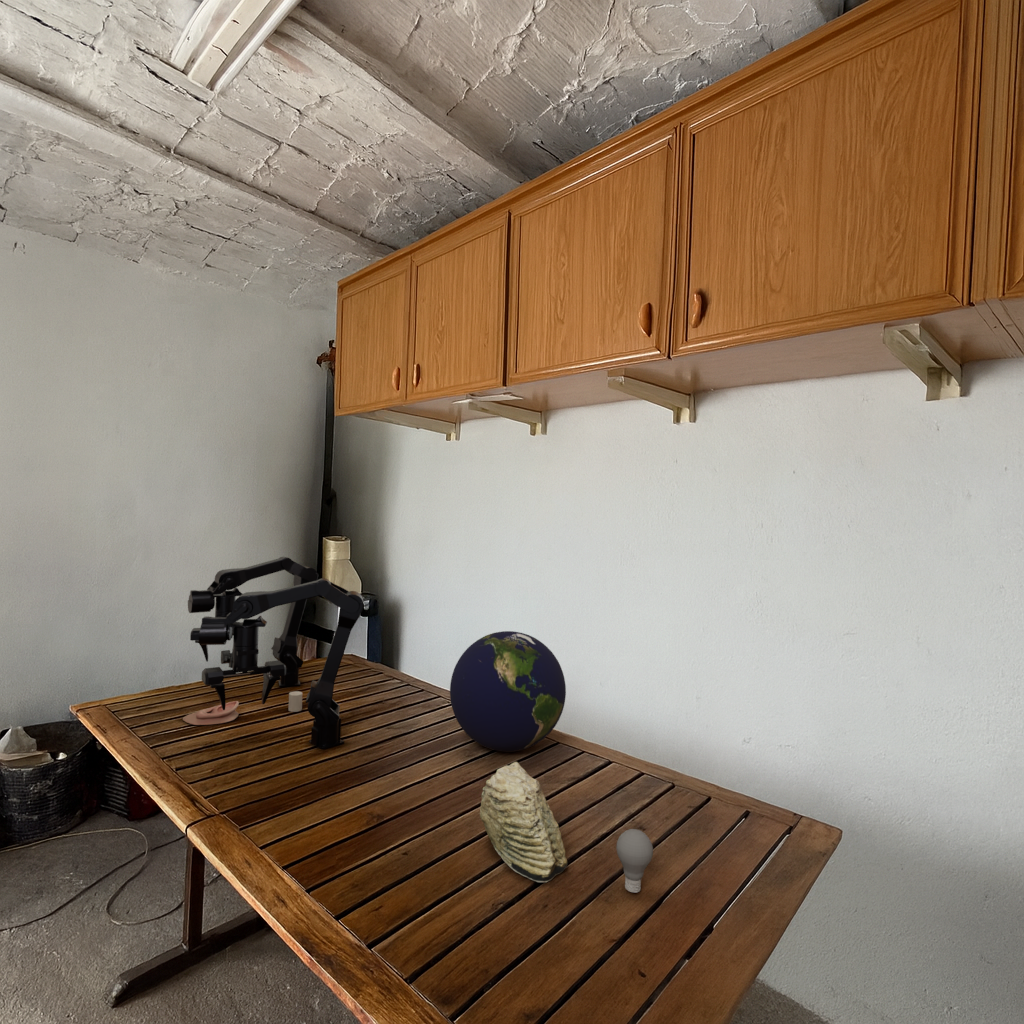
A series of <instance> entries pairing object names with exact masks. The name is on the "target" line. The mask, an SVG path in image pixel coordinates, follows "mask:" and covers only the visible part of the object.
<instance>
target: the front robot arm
mask: <svg viewBox="0 0 1024 1024" xmlns="http://www.w3.org/2000/svg"><path fill="white" fill-rule="evenodd" d="M316 597H323V598H324V599H326V600H327V601H329V602H330V603H331V604H333V605H335V606H336V607H337V608H339V611H338V620H337V625H336V629H335V632H334V635H333V637H332V640H331V644H330V647H329V650H328V653H327V656H326V659H325V663H324V666H323V668H322V672H321V675H320V676H319V678H318V680H317V681H316V680H312V681H311V685H310V688H309V691H308V693H307V694H306V699H305V704H307V707H306V709H307V712H308V713H309V715H310V716H311V717H314V719H313V721H312V722H313V723H312V727H311V730H310V731H311V732H310V733H311V735H310V739H309V740H308V743H309V744H310V745H313V746H314V747H316V748H318V749H320V750H327V749H329V748H333V747H336V746H340V745H343V744H344V743H345V741H344V740H343V739H341V737H342V735H341V733H342V717H340V709H341V708H340V707H341V706H340V704H338V703H337V702H336V701H335V700H334V699H333V696H334V689H335V682H336V678H337V676H338V672H339V669H340V666H341V664H342V661H343V656H344V653H345V652H346V651H345V650H346V648H347V645H348V641H349V638H350V635H351V632H352V630H353V628H354V627H355V625H356V623H357V622H358V619H359V618H360V616H361V614H362V612H363V610H364V607H365V606H364V598H363V596H362V594H361V593H360V592H358V591H356V590H350V591H349V590H347V589H346V588H344V587H342V586H340V585H338V584H336V583H334V582H332V581H330V580H329V579H327V578H324V577H322V578H318V579H317V581H313V582H309V583H304V584H300V585H296V586H294V585H292V586H288V587H283V588H280V589H276V590H269V591H267V590H266V591H265V590H264V591H263V590H261V591H247V592H244V593H242V595H240V596H237V597H236V600H235V602H234V604H233V611H232V612H230V613H229V614H228V615H227V617H215V616H204V617H202V618H201V624H200V627H199V628H200V632H199V643H198V644H199V646H200V645H207V646H224V645H226V644H227V643H228V641H231V640H232V639H233V640H232V641H233V642H232V650H231V649H226V650H220V664H221V665H225V664H228V668H230V669H225V670H223V669H222V668H221V667H220V666H216V667H215V666H214V667H205V668H203V670H202V671H201V681H202V683H203V684H204V686H209V687H210V689H215V692H216V694H217V696H218V700H219V702H220V705H221V706H222V709H223V710H225V706H226V703H227V702H226V686H225V683H224V682H223V681H224V680H225V679H231V678H239V677H240V678H241V677H248V676H257V675H263V683H262V691H261V692H262V693H261V705H265V703H266V702H267V700H268V697H269V696H270V693H271V691H272V689H273V687H274V686H275V684H276V683H277V681H279V680H280V679H281V676H285V675H286V666H285V665H284V664H283V663H282V662H280V661H279V660H270V661H265V662H264V665H261V666H258V662H259V661H258V660H259V659H258V658H259V653H260V652H259V651H260V650H259V632H260V631H259V629H260V628H265V627H266V626H267V624H268V621H267V620H266V619H264V618H263V617H262V615H261V614H262V613H265V612H266V611H269V610H271V609H273V608H276V607H278V606H279V607H280V606H283V605H287V604H291V603H292V602H296V601H300V600H304V599H307V600H308V599H312V598H316ZM258 615H259V616H258ZM255 616H258V617H257V618H254V617H255ZM240 620H243V621H240ZM235 622H240V623H235ZM232 627H234V635H233V637H232ZM231 637H232V638H231ZM231 651H232V652H231Z"/></svg>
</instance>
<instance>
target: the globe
mask: <svg viewBox="0 0 1024 1024" xmlns="http://www.w3.org/2000/svg"><path fill="white" fill-rule="evenodd" d="M563 671H564V670H562V666H561V664H560V662H559V660H558V659H557V657H556V656H555V654H554V652H553V651H552V650H551V649H550V648H549V647H548V646H546V644H544V643H543V642H542V641H540V640H539V639H537V637H534V636H532V635H530V634H527V633H523V632H519V631H511V630H509V631H508V630H505V631H496V632H492V633H489V634H485V635H484V636H483V637H480V638H479V639H477V640H476V641H474V642H473V643H471V644H470V645H469V646H468V647H467V648H466V649H465V650H464V651H463V652H462V654H461V655H460V656H459V659H458V660H457V662H456V664H455V666H454V669H453V672H452V675H451V679H450V683H449V684H450V685H449V699H450V704H451V709H452V712H453V714H454V718H455V719H456V721H457V723H458V725H459V726H460V728H461V729H462V731H464V732H465V734H466V735H467V736H468V737H469V738H471V739H472V740H473V741H474V742H476V743H477V744H478V745H480V746H481V747H485V748H487V749H489V750H493V751H496V752H504V753H509V752H510V753H511V752H519V751H524V750H526V749H529V748H531V747H534V746H535V745H537V744H538V743H540V742H542V741H543V740H544V739H545V738H546V737H547V736H549V734H550V733H551V732H552V731H553V730H554V728H555V727H556V726H557V724H558V723H559V721H560V719H561V717H562V713H563V711H564V708H565V703H566V695H567V686H566V679H565V676H564V672H563Z"/></svg>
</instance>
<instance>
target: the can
mask: <svg viewBox="0 0 1024 1024" xmlns="http://www.w3.org/2000/svg"><path fill="white" fill-rule="evenodd" d="M303 695H304V693H303V692H302V691H298V690H296V691H290V692H289V693H288V709H287V710H288V712H290V713H298V712H301V711H302V710H303Z"/></svg>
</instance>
